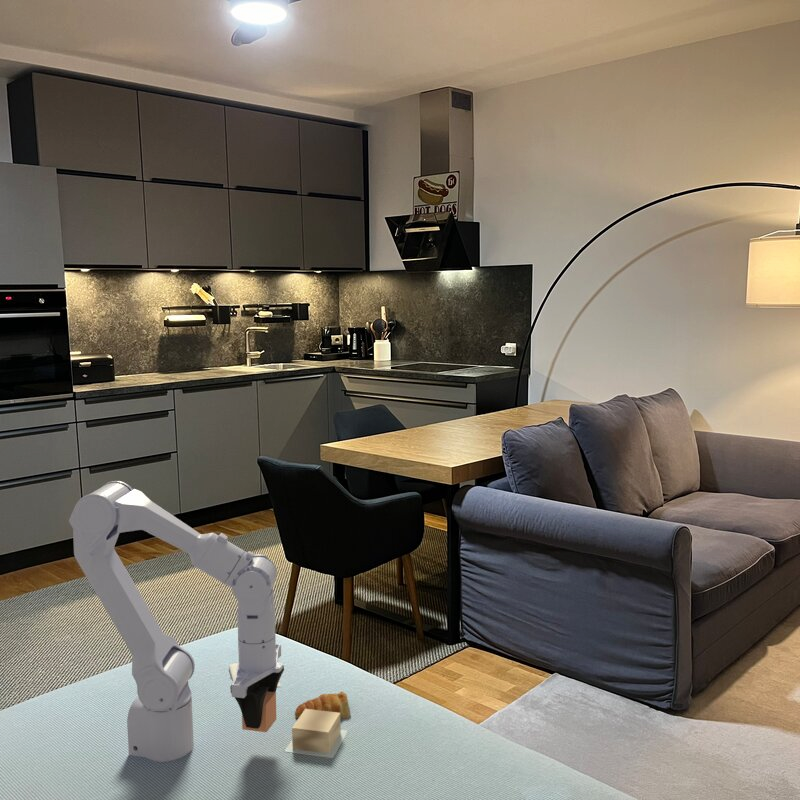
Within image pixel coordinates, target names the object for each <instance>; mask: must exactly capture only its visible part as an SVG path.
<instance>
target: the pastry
mask: <svg viewBox="0 0 800 800" xmlns="http://www.w3.org/2000/svg"><path fill="white" fill-rule="evenodd" d="M305 709H312V710H321V711H329V712H337V713H340V720H342V719H349V718H351V710H350V706H349V701H348V695H347V693H345V692H344V691H340V692H339V693H322V694H320V695H319V696H318V697H315V698H313V699H308V700H306V701H305V702H303V703H301V704H299V705H298V706H297V707H296V708H295V711H294V716H295V718H296V719H297V720H298V719H299V717H300V716H301V714H302V713H303V711H304V710H305Z"/></svg>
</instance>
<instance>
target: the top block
mask: <svg viewBox="0 0 800 800" xmlns="http://www.w3.org/2000/svg"><path fill="white" fill-rule="evenodd" d="M241 721H242V722H241V725H242V726H241V728H242V730H243V731H253V732H260V733H268V731H269V730H270V728H271V727H272V726H273V724H274V723H275V722H276V721H277V691H276V692H269V691H267V693H266V695H265V699H264V703H263V709H262V720H261V724H260V727H259V728H258V729H256V728H248V727H246V725H245V722H244V718H243V715H242V714H241Z"/></svg>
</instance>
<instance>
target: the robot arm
mask: <svg viewBox="0 0 800 800" xmlns="http://www.w3.org/2000/svg"><path fill="white" fill-rule="evenodd" d="M68 523H69V525H70V526H71V527H72V531H73V532H72V533H73V534H72V536H73V555H74V557H75V558H74V559H75V560H76V562H77V564H78V565H79V567H80V569H81V570H82V573H84V575H85V577H86V579H87V581H88V582H89V584H90V586H91V588H92V589H93V591H94V592H95V594H96V596H97V598H98V599H99V601H100V603H101V604H102V606H103V607H104V610H105V611H106V613H107V615H108V616H109V618H110V620H111V621H112V622H113V624H114V626H115V628H116V630H117V631H118V633H119V635H120V637H121V639H122V640H123V642H124V644H125V645H126V647H127V648H128V650H129V652H130V654H131V656H132V657H131V658H132V659H131V661H132V662H131V676H132V677H133V679H134V682H135V684H136V686H137V687H136V688H137V691H136V692H137V696H136V698H134V700H133V701H132V702H131V705H130V706H129V710H128V713H127V719H126V725H127V726H126V729H127V745H128V747H127V748H128V755H129V756H134V757H139V758H140V757H141V758H147V759H149V760H151V761H154V762H159V763H167V762H172V761H175V760H179V759H181V758H183V757H186V756H187V755H188V754H190V753H191V751H192V750H194V749H193V748H194V741H195V740H194V722H193V721H194V720H193V696H192V690H191V687H190V685H189V681H190V679H191V678H192V677H193V675H194V672H195V666H196V665H195V660H194V657H193V656H192V655H191V654H190V652H189V651H187V650H186V649H184V648H183V647H182V646H180V644H179V642H177V640H176V638H175V637H173V636H171V635H168V634H165V633H164V632H163V630H162V628H161V626H160V625H159V624H158V622H157V620H156V618H155V616H154V615H153V613H152V611H151V610H150V608H149V606H148V604H147V603H146V601H145V599H144V597H143V596H142V594H141V592H140V590H139V589H138V587H137V585H136V584H135V581H133V579H132V576H130V574H129V572H128V570H127V568H126V567H125V565H124V563H123V561H122V559H121V558H120V557H119V555H118V553H117V551H116V549H115V545H116V543H117V541H118V538H119V535H120V534H121V533H126V532H127V533H128V532H135V531H144V532H147V533H148V534H149V535H152V536H154V537H155V538H158V539H160V540H161V541H164V542H166V543H167V544H169V545H171V546H173V547H175V548H177V549H179V550H181V551H183V552H185V553H187V554H188V556H189V560H190V561H191V565H192V566H193V567H195V568H196V569H198V570H200V571H202V572H203V573H205V574H207V575H208V576H210V577H212V578H213V579H215V580H217V581H218V582H220V583H222V584H223V585H225V586H227V587H229V588H231V592H232V594H233V596H234V598H235V599H236V600H237V609H236V612H237V614H236V615H237V644H238V645H237V646H238V647H237V648H238V662H237V663H238V665H237V670H236V676H235V680H234V681H232V683H231V685H230V694H231V697H232V698H235V701H236V702H237V705H238V706H239V709H240V712H241V716H242V715H243V718H244V722H245V725H246V727H248V728H256V729H258V728H259V727H260V724H261V720H262V709H263V703H264V699H265V695H266V693H267V691H269V692H276V693H277V688H278V687H277V685H278V682H280V679H281V677H282V675H283V673H284V672H285V666H284V663H283V662H279V658H281V656H282V645H281V644H280V643H277V642H276V641H277V639H276V608H275V607H276V606H275V595H274V593H275V591H274V589H273V587H274V585H275V583H276V581H277V576H278V571H277V567H276V565H275V563H274V562H273V560H271V559H269V558H268V557H267V556H266V555H265V554H259V553H257V554H255V553H254V552H252V551H250V550H249V551H248V552H247V551H245V550H244V549H242V548H240V547H239V546H237V545H236V544H234V543H232V542H230V541H229V540H228V539H229V536H227V535H226V534H225V533H223V532H221V533H220V534H217V533H215V532H209V533H204V534H203V533H202V534H201V532H198V531H197V530H195V529H194V528H192V527H191V526H190V525H188V524H187V523H185V522H183V521H182V520H181V519H179V518H177V517H176V516H175V515H173V514H172V513H170V512H169V511H167V510H166V509H163V507H161V506H159V505H158V504H157V503H155V502H154V501H152V500H151V499H150V498H149V497H148V496H147V495H146V494H145V493H144V492H143V491H141V490H139V489H136V488H132V486H130V485H129V484H127V483H125V482H124V481H121V480H114V481H113V480H112V481H108V482H107V483H104V484H103V485H102V486H101V487H100V488H97V489H96V490H94V491H93V492H91V493H89V494H86V495H84V496H83V497H81V498H80V499H78V501H77V502H76V504H75V506H74V507H73V510H72V512H71V515H70V517H69V519H68Z"/></svg>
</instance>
